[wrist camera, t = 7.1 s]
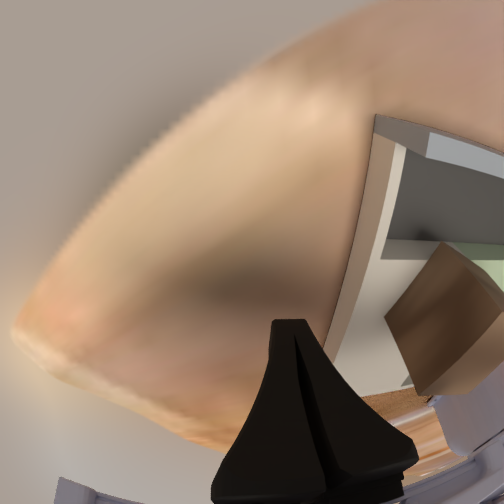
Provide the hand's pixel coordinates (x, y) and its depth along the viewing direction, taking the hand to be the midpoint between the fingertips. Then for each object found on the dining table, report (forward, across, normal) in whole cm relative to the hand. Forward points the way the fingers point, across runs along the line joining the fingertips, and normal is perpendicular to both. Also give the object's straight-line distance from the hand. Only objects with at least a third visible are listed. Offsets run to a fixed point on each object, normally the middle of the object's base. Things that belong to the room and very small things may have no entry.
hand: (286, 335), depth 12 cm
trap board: (+3, -10, 0) cm, 10 cm away
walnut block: (+1, -8, -1) cm, 8 cm away
